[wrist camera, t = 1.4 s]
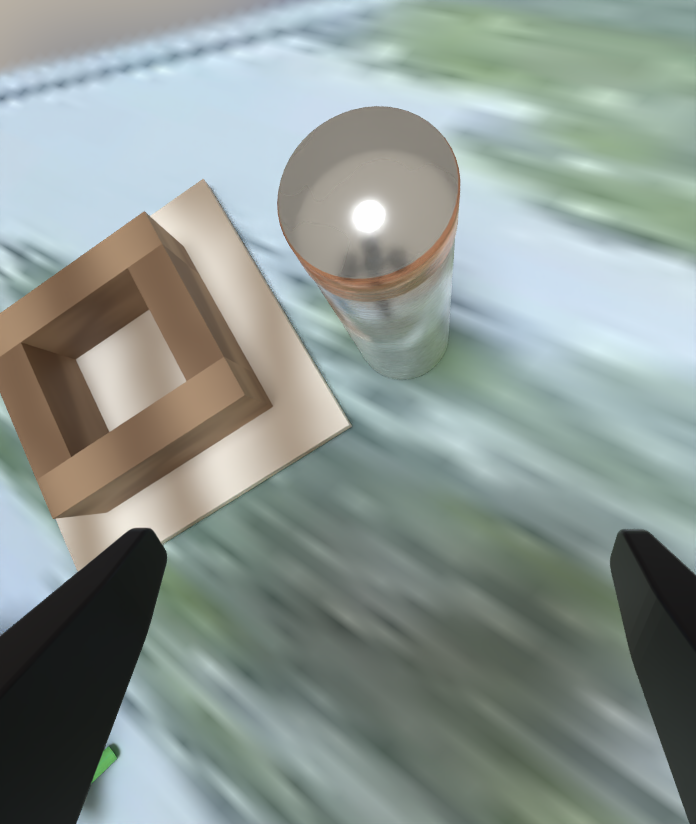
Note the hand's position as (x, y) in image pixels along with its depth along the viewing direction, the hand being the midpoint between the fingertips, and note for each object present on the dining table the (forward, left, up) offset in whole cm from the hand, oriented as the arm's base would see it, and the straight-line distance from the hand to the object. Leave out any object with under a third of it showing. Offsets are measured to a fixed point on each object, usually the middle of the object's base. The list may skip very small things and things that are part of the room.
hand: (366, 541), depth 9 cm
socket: (-8, +13, -14) cm, 20 cm away
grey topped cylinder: (+4, +7, -14) cm, 16 cm away
